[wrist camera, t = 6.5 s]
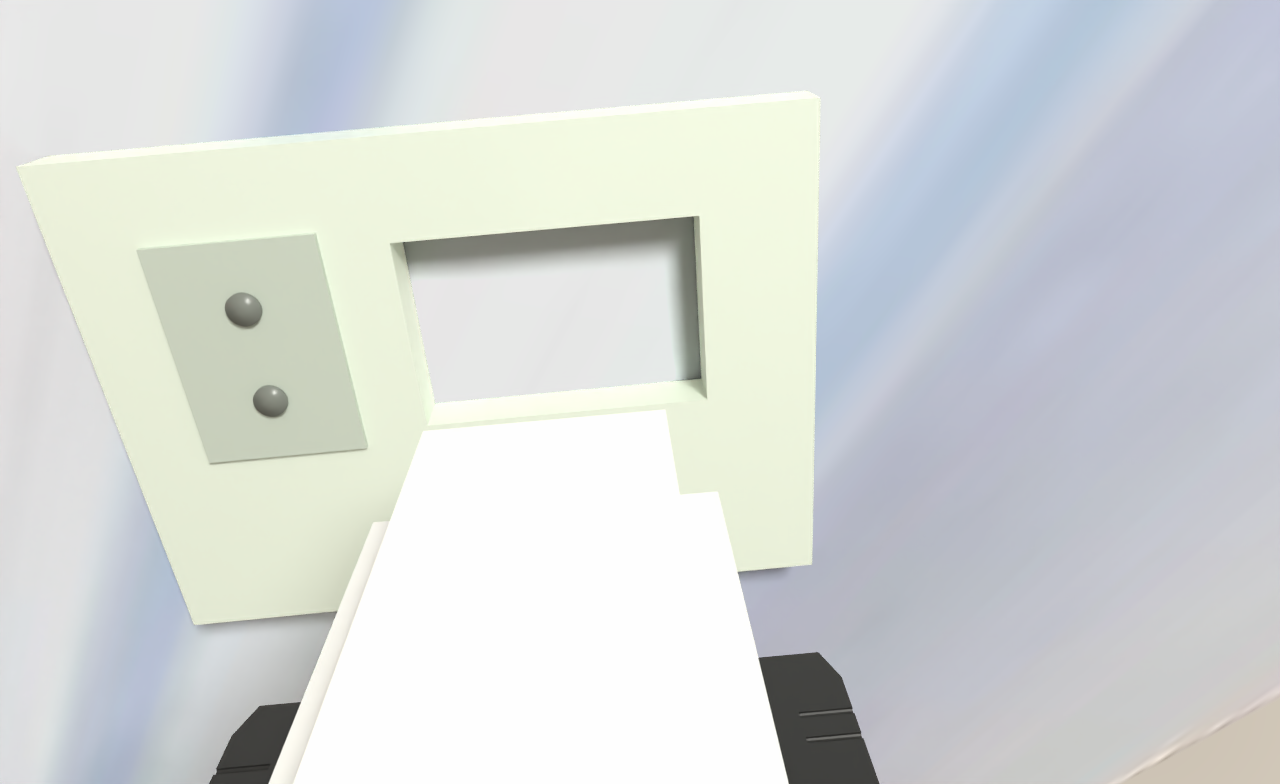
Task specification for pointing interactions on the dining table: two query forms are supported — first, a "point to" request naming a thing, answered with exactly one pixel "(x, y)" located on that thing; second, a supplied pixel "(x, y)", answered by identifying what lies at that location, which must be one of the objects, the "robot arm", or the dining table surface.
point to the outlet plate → (389, 327)
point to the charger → (528, 619)
